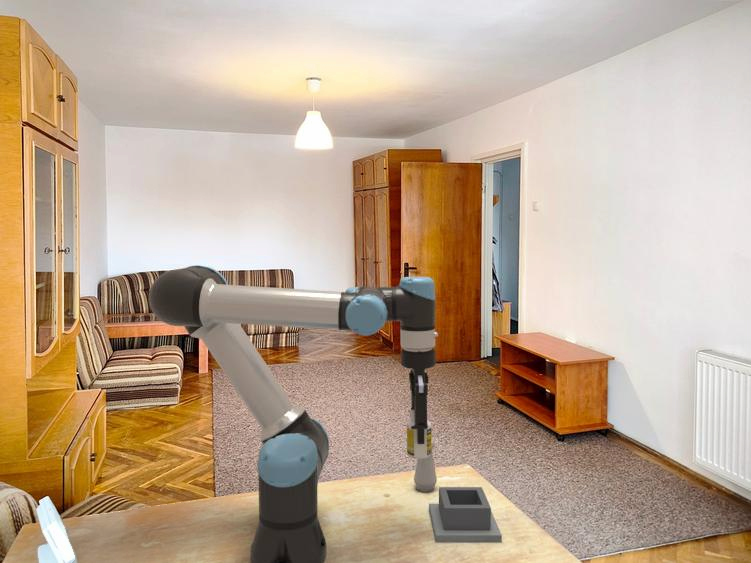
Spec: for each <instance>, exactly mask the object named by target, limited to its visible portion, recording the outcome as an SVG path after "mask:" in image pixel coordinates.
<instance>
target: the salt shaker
mask: <svg viewBox="0 0 751 563" xmlns="http://www.w3.org/2000/svg"><path fill="white" fill-rule="evenodd" d="M434 447H435V442H434V439H432V438H431V456H430V457H428V458H425V459H417V461H416V466H415V469H414V470H415V472H414V475H413V476H414V477H413V481H414V484H415V487H416V489H417V491H420V492H422V493H428V492H429V493H430V492H432V490H434V488H435V486H436V484H437V481H438V480H437V473H436V472H437V471H436V467H435V462H434V460H435V459H434V455H433V450H434Z"/></svg>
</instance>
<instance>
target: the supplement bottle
mask: <svg viewBox="0 0 751 563" xmlns="http://www.w3.org/2000/svg"><path fill="white" fill-rule="evenodd" d="M409 412H410V413H409V420H408V422H407V424H406V454H407V456H408V457H409V458H411V459H417V460H418V459H425V458H414V429H411V426H414V425H415V418H414V410H411V409H410V411H409ZM427 425H428V428H427V458H428V457H430V456H431V439H432V423H431V421H430V420H429V411H428V410H427Z"/></svg>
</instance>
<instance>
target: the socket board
mask: <svg viewBox="0 0 751 563" xmlns="http://www.w3.org/2000/svg"><path fill="white" fill-rule="evenodd" d="M428 511H429V516H430V522H431V526H432V530H433V534H434V540H435V542H436V543H502V541H503V540H502V538H503V535H502V533H501V531H500V528H499V525H498V523H497V520H496V519H495V517H494V516H495V515H494V513H493V511H492V507H491V506H490V503H489V500H488V498H487V495H486V494H485V492H484V489H483V487H482V486H479V487H478V486H438V503H429V504H428Z"/></svg>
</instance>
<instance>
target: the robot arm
mask: <svg viewBox="0 0 751 563" xmlns="http://www.w3.org/2000/svg"><path fill="white" fill-rule="evenodd" d="M435 288H436V286H435V281H434V280H433V278H432V277H429V276H405V277H401V278H400V280H399V284H398V285H396V286H357V287H355V286H354V287H347V288H346V290H345V292H344V291H332V290H320V289H319V290H318V289H317V290H315V289H300V288H283V287H271V286H270V287H269V286H268V287H267V286H253V285H251V286H250V285H238V284H229V283H228V281H227V279H226V278H225V277H224V276H223V275H222V273H221V272H219V271H218V270H217V269H215V268H213V267H210V266H205V265H190V266H187V267H183V268H176V269H172V270H168V271H165V272H163V273H161V274H160V275H159V276H158V277H157V278H155V280H154V281H153V283H152V284H151V286H150V289H149V291H148V292H149V293H148V304H149V307H150V309H151V311H152V314H153V315H154V316H155V317H156V318H157V319H158V320H159V321H161V322H162V323H164V324H166V325H169V326H172V327H173V326H174V327H184V328H185V330H186V332H187V333H188V335H189V336H190V337H191V338H196V339H200V340H201V341H202V342H203V344H204V345H205V346H206V348H207V350H208V352H209V353H210V354H211V355H212V357H213V359H214V360H215V362H216V363H217V365H218V366H219V367H220V369H221V371H223V373H224V375H225V376H226V378H227V379H228V381H229V382H230V384H231V385H232V387H233V389H235V392H236V393H237V394H238V395H239V397H240V399H241V400H242V401H243V403H244V404H245V407H247V409H248V411H249V412H250V413H251V414H252V416H253V418H254V419H255V421H256V422H257V423H258V424H257V425H259V427H260V428H261V432H260V438H259V440H260V441H261V442H262V445H261V446H260V449H259V451H258V459H257V472H258V519H259V520H258V524H257V527H256V531H255V534H254V538H253V541H252V544H251V546H250V563H324V562H325V561H326V558H327V541H326V538H325V534H324V532H323V528H322V526H321V522H320V520H319V518H318V484H319V479H320V476H321V473H322V471H323V467H324V465H325V464H326V462H327V460H328V456H329V453H330V438H329V434H328V432H327V429H326V428H325V426H324V425H323V424H322V423H321V422H320V421H319V420H317V419H315V418H311V416H310V415H309V414H308V412H307V410H306V409H305V408H304V407H302V406H297V405H295V404H293V402H292V400H291V398H290V397H289V396H288V395H287V393H286V391H285V390H284V388H283V387H282V385H281V383H280V382H279V381H278V379H277V378H276V376H275V375H274V373H273V372H272V370H271V369H270V367H269V366H268V365H267V363H266V361H265V360H264V359H263V357H262V355H261V354H260V353H259V351H258V350H257V348H256V347H255V345H254V343H253V342H252V341H251V339H250V337H249V336H248V335H247V334H246V331H245V330H244V328H243V327H242V325H252V326H255V325H257V326H267V327H268V326H269V327H270V326H271V327H285V328H288V327H289V328H303V329H316V330H317V329H319V330H320V329H321V330H331V331H332V330H335V331H344V332H345V331H346V332H348V331H349V332H353V333H355V334H357V335H359V336H366V337H367V336H368V337H369V336H372V335H374V334H376V333H378V332H379V331H380V330H381V329H382V328H383V327H384V326H385V324H386V322H400V332H399V333H400V346H401V347H402V349H401V350H400V364H401V366H402V367H403V368H406V369H409V373H408V380H409V383H410V384H409V388H410V394H411V395H410V396H411V397H410V400H411V401H410V402H411V404H410V406H411V407H410V411H411V410H414V418H415V425H414V426H411V429H414V458H427V428H428V425H427V420H428V419H427V411H428V394H429V393H428V386H429V385H428V384H429V375H428V372H426V371H425V370H426V369H431V368H433V367H435V366H436V362H437V361H436V359H437V357H436V353H437V352H436V349H435V348H434V347H436V338H437V337H438V336H439V333H438V332H436V290H435ZM414 458H413V459H414Z"/></svg>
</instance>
